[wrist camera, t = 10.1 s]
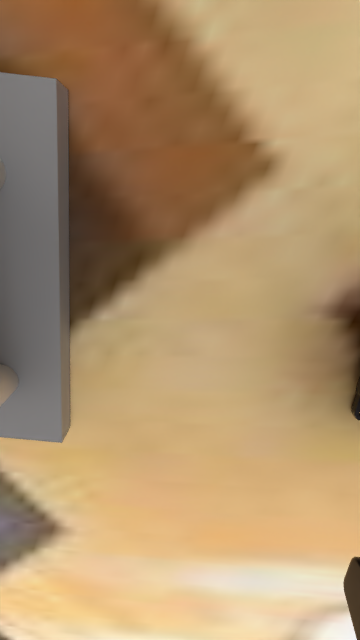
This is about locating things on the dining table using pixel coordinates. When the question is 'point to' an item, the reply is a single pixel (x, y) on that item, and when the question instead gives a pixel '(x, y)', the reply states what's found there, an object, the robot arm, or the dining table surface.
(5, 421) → the grey base with posts
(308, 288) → the dining table surface
